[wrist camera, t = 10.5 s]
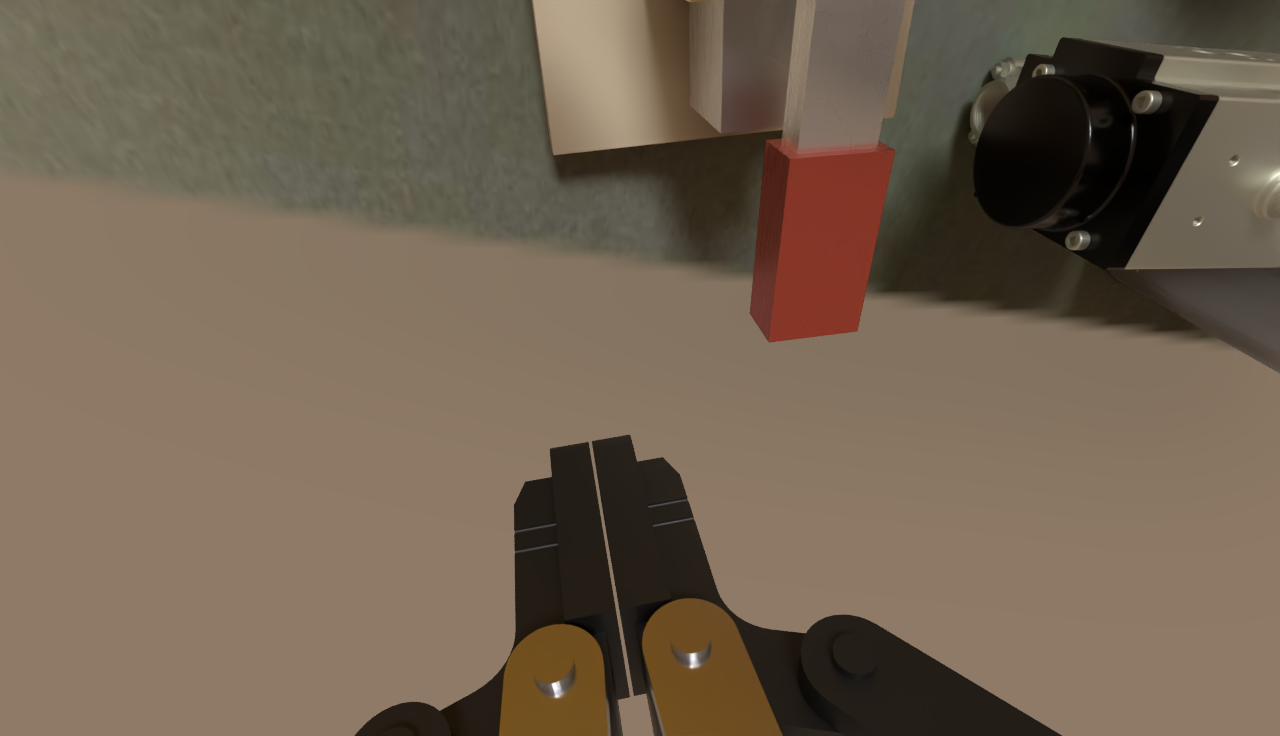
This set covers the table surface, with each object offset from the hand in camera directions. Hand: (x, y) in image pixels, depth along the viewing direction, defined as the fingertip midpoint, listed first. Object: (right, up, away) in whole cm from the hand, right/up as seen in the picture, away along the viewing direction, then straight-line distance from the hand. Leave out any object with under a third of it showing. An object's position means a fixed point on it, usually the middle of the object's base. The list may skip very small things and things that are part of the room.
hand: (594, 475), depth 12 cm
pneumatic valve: (+17, +14, +14) cm, 26 cm away
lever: (+5, +9, +3) cm, 11 cm away
